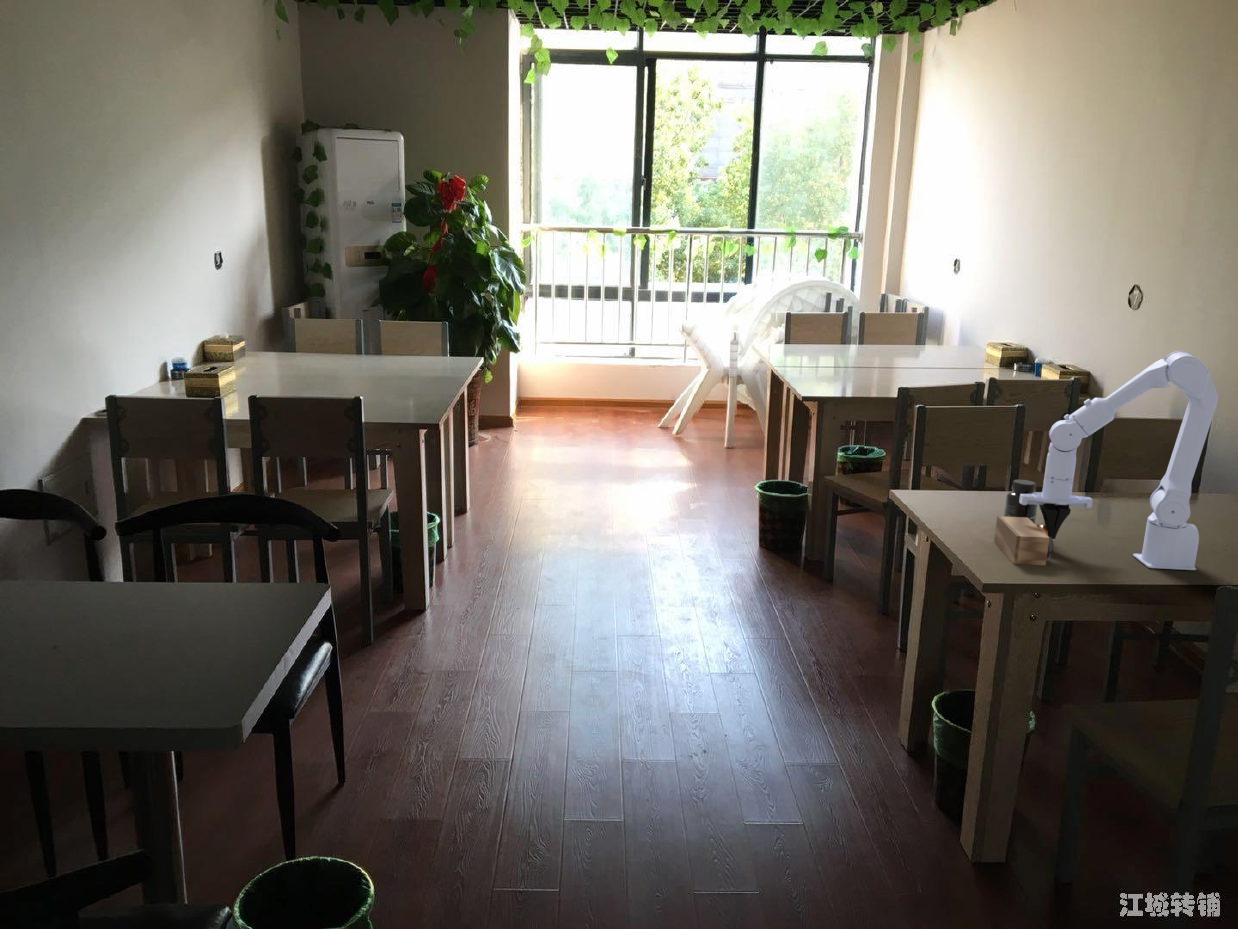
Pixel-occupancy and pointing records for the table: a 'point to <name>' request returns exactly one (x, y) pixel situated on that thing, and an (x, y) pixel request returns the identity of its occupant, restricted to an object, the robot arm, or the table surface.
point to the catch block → (1021, 540)
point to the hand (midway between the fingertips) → (1050, 537)
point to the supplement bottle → (1014, 506)
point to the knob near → (1050, 547)
